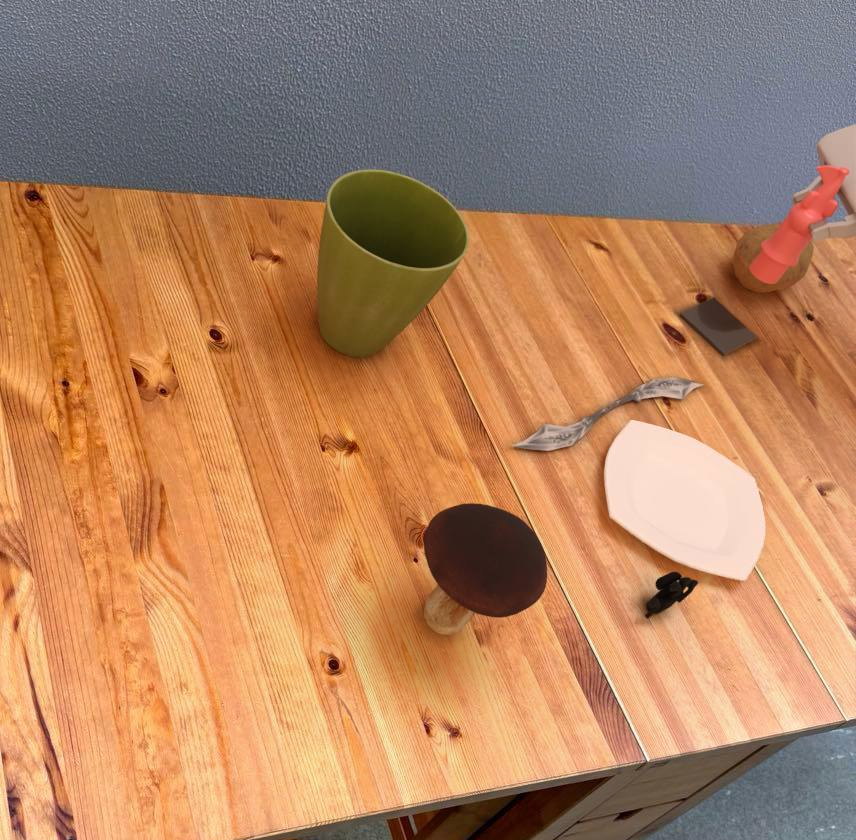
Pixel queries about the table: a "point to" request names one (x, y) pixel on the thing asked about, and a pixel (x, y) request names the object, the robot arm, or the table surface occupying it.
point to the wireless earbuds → (669, 592)
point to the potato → (748, 252)
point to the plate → (684, 500)
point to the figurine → (798, 227)
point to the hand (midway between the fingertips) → (802, 219)
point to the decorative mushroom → (481, 566)
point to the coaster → (718, 326)
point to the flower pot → (382, 257)
